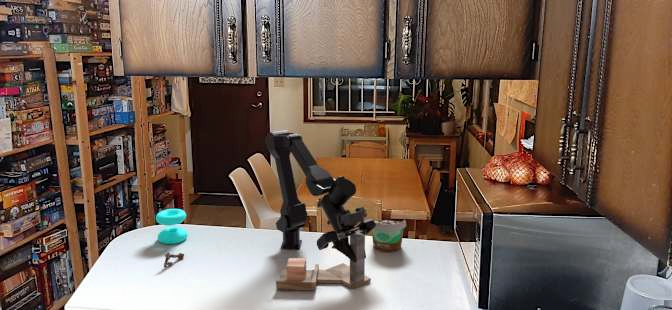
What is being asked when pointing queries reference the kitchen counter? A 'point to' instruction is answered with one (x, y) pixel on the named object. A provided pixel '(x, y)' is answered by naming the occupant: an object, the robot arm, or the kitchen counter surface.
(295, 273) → the block
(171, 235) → the donuts
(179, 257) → the dark triangular frame
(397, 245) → the food container
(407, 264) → the kitchen counter surface
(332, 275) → the pull board
